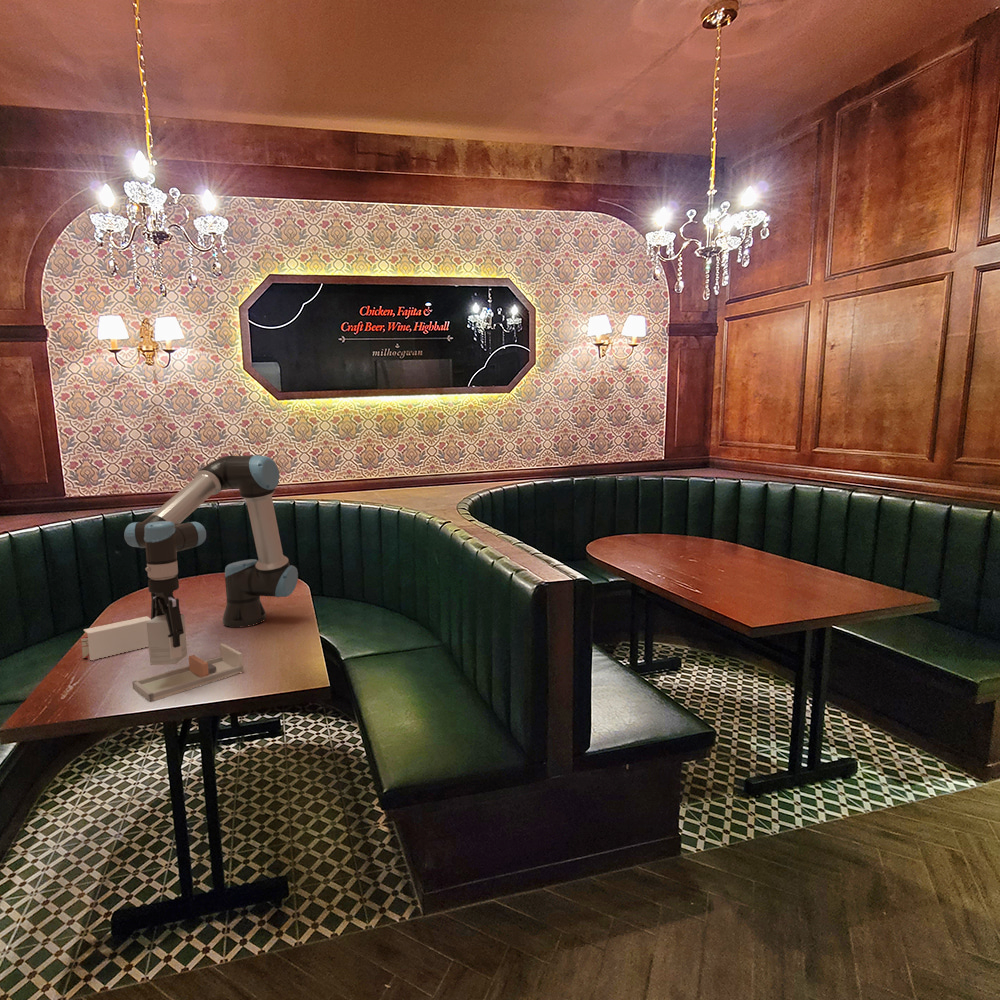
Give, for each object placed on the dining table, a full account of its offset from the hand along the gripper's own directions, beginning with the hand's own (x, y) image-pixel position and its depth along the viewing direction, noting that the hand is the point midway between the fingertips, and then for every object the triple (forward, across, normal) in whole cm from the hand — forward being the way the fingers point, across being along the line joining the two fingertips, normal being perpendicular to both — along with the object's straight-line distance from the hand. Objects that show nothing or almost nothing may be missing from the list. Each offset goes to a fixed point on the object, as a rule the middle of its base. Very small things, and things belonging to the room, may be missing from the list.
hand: (168, 652), depth 176 cm
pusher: (+9, 0, +10) cm, 13 cm away
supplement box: (+2, 0, 0) cm, 2 cm away
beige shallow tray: (+10, 0, +5) cm, 11 cm away
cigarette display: (+10, -41, -1) cm, 43 cm away
